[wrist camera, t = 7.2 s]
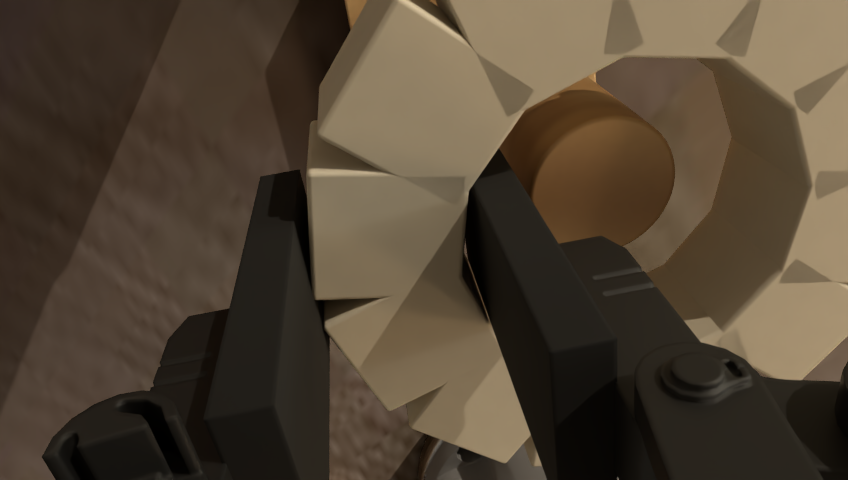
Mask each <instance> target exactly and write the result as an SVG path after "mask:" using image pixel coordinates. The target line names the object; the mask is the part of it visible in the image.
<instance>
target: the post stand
mask: <svg viewBox="0 0 848 480" xmlns="http://www.w3.org/2000/svg"><path fill="white" fill-rule="evenodd" d="M344 1H345V6H346V11H347V16H348V21H349V27H350V31H351V29H352V27H353V25H354V24H355V22H356V20H357V18H358V16H359V15H360V13H361V11H362V9H363V7H364V6H365V4H366V2H367V0H344ZM429 1H430V2H432V3H434V4H435V5H437V3H436V1H435V0H429ZM437 6H438V5H437ZM499 149H500V150H501V152H502V154H503V155H504V157H505V159H506V160H507V162H508V163H509V165H510V167H511V168H512V170H513V171H514V173H515V175H516V176H517V178H518V179H519V181H520V183H521V184H522V186H523V187H524V189H525V191H526V192H527V194H528V195H529V197H530V199H531V200H532V202H533V203H534V205H535V207H536V208H537V210H538V211H539V213H540V215H541V216H542V218H543V220H544V221H545V223H546V224H547V226H548V228H549V229H550V231H551V232H552V234H553V236H554V237H555V239H556V240H557V242H558V244H559V243H565V242H570V241H575V240H580V239H586V238H591V237H596V236H603V237H605V238H607V239H609V240H611V241H612V242H614V243H616V244H618V245H620V246H624V245H626V244H628V243H630V242H632V241H633V240H635V239H636V238H638V237H639V236H641V235H642V234H643V233H644V232H646V231H647V230H648V229H649V228H650V227H651V226H652V225H653V224H654V223H655V221H656V220H657V219H658V218H659V216H660V215H661V214H662V212H663V211H664V209H665V207H666V205H667V203H668V201H669V199H670V196H671V193H672V190H673V186H674V178H675V166H674V160H673V155H672V152H671V149H670V147H669V145H668V143H667V141H666V140H665V138H664V137H663V136H662V134H661V133H660V132H659V131H658V130H656V129H655V128H654V127H653V126H652V125H650V124H649V123H648V122H646V121H645V120H644V119H643V118H641V117H640V116H639V115H637V114H636V113H635V112H633V111H632V110H631V109H629V108H628V107H627V106H626V105H624V104H623V103H622V102H620V101H619V100H618V99H616V98H615V97H614V96H612V95H611V94H610V93H609V92H607V91H606V90H605V89H603V88H602V87H601V86H599V85H598V84H597V83H596V72H595V73H593V74H591V75H589V76H587V77H586V78H584V79H582V80H580V81H578V82H576V83H574V84H573V85H571V86H569V87H567V88H565V89H563V90H561V91H560V92H558V93H556V94H554V95H552V96H550V97H548V98H547V99H545V100H543V101H541V102H539V103H537V104H535V105H534V106H532V107H530V108H528V109H526V110H525V111H524V112H523V114H522V115H521V117H520V118H519V120H518V121H517V122H516V124H515V125H514V127H513V128H512V130H511V131H510V133H509V134H508V135H507V137H506V138H505V140H504V141H503V143H502V144H501V145H500V147H499Z"/></svg>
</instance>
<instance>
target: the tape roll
mask: <svg viewBox="0 0 848 480" xmlns="http://www.w3.org/2000/svg"><path fill="white" fill-rule="evenodd" d="M435 1H436V3H437V5H438V6H437V5H435V4H434V3H432V2H430V1H429V0H367V2H366V4H365V6H364V7H363V9H362V11H361V13H360V15H359V16H358V18H357V20H356V22H355V24H354V25H353V27H352V29H351V31H350V33H349V34H348V36H347V38H346V40H345V41H344V43H343V45H342V47H341V49H340V50H339V52H338V54H337V56H336V58H335V59H334V61H333V63H332V65H331V66H330V68H329V70H328V72H327V74H326V75H325V77H324V79H323V81H322V83H321V84H320V86H319V102H318V120H314V121H312V122H311V124H310V131H309V144H308V157H307V170H306V184H307V206H308V228H309V249H310V271H311V288H312V293H313V298H314V299H315V300H324V330H325V331H326V332H327V334H328V335H329V336H330V338H331V339H332V340H333V341H334V343H335V344H336V345H337V347H338V348H339V349H340V350H341V352H342V353H343V354H344V356H345V357H346V358H347V359H348V361H349V362H350V363H351V365H352V366H353V367H354V368H355V370H356V371H357V372H358V374H359V375H360V376H361V377H362V379H363V380H364V381H365V383H366V384H367V385H368V387H369V388H370V389H371V390H372V392H373V393H374V394H375V396H376V397H377V398H378V399H379V401H380V402H381V403H382V405H383V406H384V407H385V408H386V410H388V411H392V410H394V409H396V408H398V407H400V406H402V405H404V404H406V407H407V414H408V420H409V427H410V428H411V429H414V430H417V431H419V432H422V433H424V434H427V435H430V436H432V437H435V438H438V439H440V440H443V441H446V442H448V443H451V444H454V445H456V446H459V447H461V448H464V449H467V450H469V451H472V452H475V453H477V454H480V455H483V456H485V457H488V458H491V459H493V460H496V461H498V462H501V463H506V462H507V461H508V460H509V459H510V458H511V457H512V456H513V455H514V453H515V452H516V451H517V450H518V449H519V448H520V447H521V445H522V444H524V446H525V449H526V452H527V455H528V458H529V461H530V464H531V465H532V466H534V467H537V466H542V465H541V462H540V459H539V456H538V453H537V451H536V448H535V445H534V442H533V439H532V437H531V434H530V431H529V428H528V425H527V423H526V420H525V417H524V414H523V412H522V409H521V406H520V403H519V400H518V398H517V395H516V392H515V389H514V386H513V384H512V381H511V378H510V375H509V373H508V370H507V367H506V364H505V361H504V359H503V356H502V353H501V350H500V347H499V345H498V342H497V339H496V336H495V333H494V331H493V328H492V325H491V322H490V320H489V317H488V314H487V311H486V308H485V306H484V303H483V300H482V297H481V294H480V292H479V289H478V286H477V283H476V281H475V278H474V275H473V272H472V269H471V267H470V264H469V261H468V259H467V257H466V256H465V254H464V244H465V232H466V219H467V207H468V195H469V190H470V189H471V187H472V186H473V184H474V183H475V181H476V180H477V179H478V177H479V176H480V174H481V173H482V171H483V170H484V168H485V167H486V166H487V164H488V163H489V161H490V160H491V158H492V157H493V156H494V154H495V153H496V151H497V150H498V148H499V147H500V145H501V144H502V143H503V141H504V140H505V138H506V137H507V135H508V134H509V133H510V131H511V130H512V128H513V127H514V125H515V124H516V122H517V121H518V120H519V118H520V117H521V115H522V114H523V112H524V111H525V110H526V109H528V108H530V107H532V106H534V105H535V104H537V103H539V102H541V101H543V100H545V99H547V98H548V97H550V96H552V95H554V94H556V93H558V92H560V91H561V90H563V89H565V88H567V87H569V86H571V85H573V84H574V83H576V82H578V81H580V80H582V79H584V78H586V77H587V76H589V75H591V74H593V73H595V72H597V71H599V70H600V69H602V68H604V67H606V66H608V65H610V64H612V63H613V62H615V61H617V60H619V59H621V58H623V57H631V58H696V59H697V60H699V61H700V62H701V63H703V64H704V65H705V66H707V67H708V68H709V69H711V70H712V71H713V73H714V77H715V80H716V84H717V87H718V90H719V94H720V97H721V101H722V104H723V108H724V111H725V115H726V118H727V122H728V125H729V129H730V132H731V136H732V137H731V141H730V145H729V148H728V152H727V155H726V159H725V163H724V166H723V170H722V174H721V177H720V181H719V184H718V188H717V192H716V195H715V199H714V202H713V206H712V210H711V211H710V212H709V213H708V214H707V215H706V217H705V218H704V219H703V220H702V221H701V222H700V223H699V225H698V226H697V227H696V228H695V229H694V230H693V232H692V233H691V234H690V235H689V236H688V237H687V238H686V240H685V241H684V242H683V243H682V244H681V245H680V247H679V248H678V249H677V250H676V251H675V252H674V253H673V255H672V256H671V257H670V258H669V259H668V260H667V262H666V263H665V264H664V265H662V266H660V267H658V268H656V269H654V270H652V271H650V272H648V273H646V274H647V275H648V277H649V278H650V279H651V280H652V282H653V283H654V287H657V288H658V289H659V290H660V292H661V293H662V294H663V295H664V297H665V298H666V299H667V300H668V302H669V303H670V304H671V305H672V307H673V308H674V309H675V310H676V312H677V313H678V314H679V315H680V317H681V318H682V319H683V320H684V322H685V323H686V324H687V325H688V327H689V328H690V329H691V330H692V332H693V333H694V334H695V335H696V337H697V338H698V339H699V340H700V342H702V343H706V344H710V345H714V346H717V347H721V348H725V349H727V350H729V351H731V352H732V353H734V354H736V355H738V356H740V357H742V358H743V359H745V360H746V361H747V362H748V363H749V364H750V365H751V366H752V367H753V368H754V369H756V370H757V371H759V372H761V373H763V374H765V375H767V376H769V377H771V378H776V379H785V380H802V379H803V378H804V377H805V376H806V375H807V374H808V373H809V372H810V371H811V370H812V369H813V368H814V367H816V366H817V365H818V364H819V363H820V362H821V361H822V360H823V359H824V358H825V357H826V356H827V355H828V354H829V353H830V352H831V351H832V350H833V349H834V348H835V347H836V346H837V345H839V344H840V343H841V342H842V341H843V340H844V339H845V338H846V337H847V336H848V0H435Z"/></svg>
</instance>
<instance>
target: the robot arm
mask: <svg viewBox="0 0 848 480" xmlns="http://www.w3.org/2000/svg"><path fill="white" fill-rule="evenodd" d="M465 240H466V248H467V256H468V261H469V264H470V267H471V269H472V272H473V275H474V278H475V281H476V283H477V286H478V289H479V292H480V294H481V297H482V300H483V303H484V306H485V308H486V311H487V314H488V317H489V320H490V322H491V325H492V328H493V331H494V333H495V336H496V339H497V342H498V345H499V347H500V350H501V353H502V356H503V359H504V361H505V364H506V367H507V370H508V373H509V375H510V378H511V381H512V384H513V386H514V389H515V392H516V395H517V398H518V400H519V403H520V406H521V409H522V412H523V414H524V417H525V420H526V423H527V425H528V428H529V431H530V434H531V437H532V439H533V442H534V445H535V448H536V451H537V453H538V456H539V459H540V462H541V465H542V466H537V467H534V466H532V465H531V464H530V461H529V458H528V455H527V452H526V449H525V446H524V444H522V445H521V447H520V448H519V449H518V450H517V451H516V452H515V453H514V455H513V456H512V457H511V458H510V459H509V460H508V461H507V462H506V463H501V462H498V461H496V460H493V459H491V458H488V457H485V456H483V455H480V454H477V453H475V452H472V451H469V450H467V449H464V448H461V447H459V446H456V445H454V444H451V443H448V442H446V441H443V440H440V439H438V438H435V437H432V436H430V435H428V437H427V439H426V441H425V444H424V446H423V449H422V452H421V456H420V460H419V468H418V480H848V362H847V364H846V366H845V367H844V369H843V372H842V376H841V381H840V382H832V381H808V380H785V379H776V378H767V377H762V376H760V375H759V373H758V372H757V371H756V370H755V369H754V368H753V367H752V366H751V365H750V364H749V363H748V362H747V361H746V360H745V359H743V358H742V357H740V356H738V355H736V354H734V353H732V352H731V351H729V350H727V349H725V348H721V347H717V346H714V345H710V344H706V343H702V342H700V340H699V339H698V338H697V337H696V335H695V334H694V333H693V332H692V330H691V329H690V328H689V327H688V325H687V324H686V323H685V322H684V320H683V319H682V318H681V317H680V315H679V314H678V313H677V312H676V310H675V309H674V308H673V307H672V305H671V304H670V303H669V302H668V300H667V299H666V298H665V297H664V295H663V294H662V293H661V292H660V290H659V289H658V288H657V287H654V283H653V282H652V280H651V279H650V278H649V277H648V275H647V274H646V273H645V272H644V271H642V270H641V267H640V265H639V264H638V263H637V262H636V260H635V259H634V258H633V257H632V255H631V254H630V253H629V252H628V250H627V249H626V248H624V247H622V246H620V245H618V244H616V243H614V242H612V241H611V240H609V239H607V238H605V237H603V236H596V237H591V238H586V239H580V240H575V241H570V242H565V243H559V244H558V242H557V240H556V239H555V237H554V236H553V234H552V232H551V231H550V229H549V228H548V226H547V224H546V223H545V221H544V220H543V218H542V216H541V215H540V213H539V211H538V210H537V208H536V207H535V205H534V203H533V202H532V200H531V199H530V197H529V195H528V194H527V192H526V191H525V189H524V187H523V186H522V184H521V183H520V181H519V179H518V178H517V176H516V175H515V173H514V171H513V170H512V168H511V167H510V165H509V163H508V162H507V160H506V159H505V157H504V155H503V154H502V152H501V150H500V149H499V148H498V150H497V151H496V153H495V154H494V156H493V157H492V158H491V160H490V161H489V163H488V164H487V166H486V167H485V168H484V170H483V171H482V173H481V174H480V176H479V177H478V179H477V180H476V181H475V183H474V184H473V186H472V187H471V189H470V190H469V195H468V207H467V219H466V232H465ZM160 364H161V367H158V370H157V373H156V376H155V378H154V381H153V384H154V387H151V390H150V391H136V392H130V393H124V394H119V395H116V396H114V397H111V398H109V399H106V400H104V401H101V402H99V403H96V404H94V405H92V406H91V407H89V408H88V409H86V410H85V411H83V412H82V413H80V414H78V415H77V416H75V417H74V418H72V419H71V420H70V421H69V422H68V423H67V424H66V425H65V426H64V427H63V428H62V429H61V430H60V431H59V432H58V433H57V434H56V435H55V436H54V437H53V438H52V440H51V441H50V443H49V445H48V447H47V449H46V451H45V452H44V454H43V456H42V458H43V460H44V461H45V463H46V464H47V466H48V468H49V469H50V471H51V473H52V474H53V476H54V478H55V479H56V480H329V371H330V336H329V335H328V334H327V332H326V331H325V330H324V300H315V299H314V298H313V293H312V288H311V271H310V249H309V228H308V206H307V197H306V193H305V189H304V185H303V181H302V177H301V173H300V170H294V171H289V172H283V173H278V174H272V175H267V176H261V177H260V181H259V186H258V190H257V194H256V198H255V203H254V207H253V211H252V215H251V219H250V224H249V228H248V232H247V236H246V241H245V245H244V249H243V253H242V258H241V262H240V266H239V270H238V275H237V279H236V283H235V287H234V292H233V296H232V300H231V304H230V308H229V309H225V310H219V311H214V312H209V313H204V314H198V315H193V316H189V317H188V318H187V319H186V320H185V321H184V322H183V323H182V324H181V326H180V327H179V328H178V329H177V330H176V331H175V332H174V333H173V334H172V336H171V337H170V338H169V339H168V342H167V344H166V347H165V350H164V353H163V356H162V359H161V361H160Z"/></svg>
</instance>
